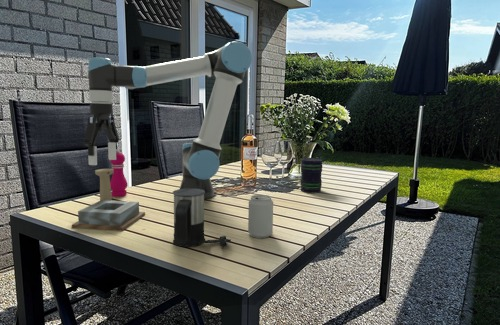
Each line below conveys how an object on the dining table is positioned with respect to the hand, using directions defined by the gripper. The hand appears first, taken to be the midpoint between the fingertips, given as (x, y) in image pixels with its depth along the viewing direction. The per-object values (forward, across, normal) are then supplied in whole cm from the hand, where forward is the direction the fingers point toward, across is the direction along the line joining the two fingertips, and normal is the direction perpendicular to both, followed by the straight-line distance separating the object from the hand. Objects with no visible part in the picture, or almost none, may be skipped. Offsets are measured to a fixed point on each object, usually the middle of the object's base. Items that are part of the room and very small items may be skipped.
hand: (103, 162), depth 131 cm
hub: (+18, +12, +8) cm, 23 cm away
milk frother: (+18, +27, +44) cm, 54 cm away
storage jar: (+17, -46, +77) cm, 92 cm away
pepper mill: (+18, -22, -6) cm, 29 cm away
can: (+18, +17, +60) cm, 64 cm away
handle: (+18, 0, 0) cm, 18 cm away
